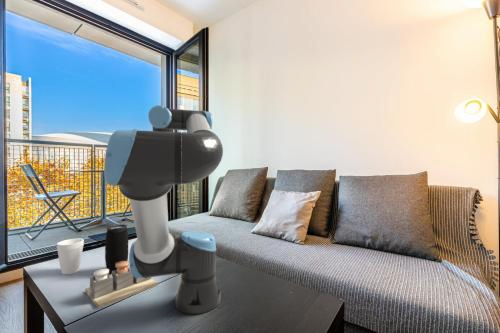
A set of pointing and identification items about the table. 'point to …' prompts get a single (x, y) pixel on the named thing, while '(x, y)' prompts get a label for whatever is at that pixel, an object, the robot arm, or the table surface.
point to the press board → (117, 287)
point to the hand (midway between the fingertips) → (161, 206)
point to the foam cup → (70, 255)
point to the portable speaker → (116, 246)
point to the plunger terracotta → (122, 267)
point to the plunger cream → (101, 274)
